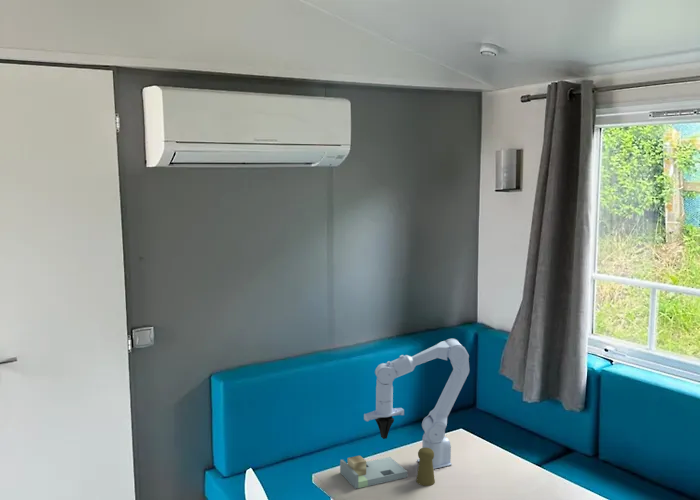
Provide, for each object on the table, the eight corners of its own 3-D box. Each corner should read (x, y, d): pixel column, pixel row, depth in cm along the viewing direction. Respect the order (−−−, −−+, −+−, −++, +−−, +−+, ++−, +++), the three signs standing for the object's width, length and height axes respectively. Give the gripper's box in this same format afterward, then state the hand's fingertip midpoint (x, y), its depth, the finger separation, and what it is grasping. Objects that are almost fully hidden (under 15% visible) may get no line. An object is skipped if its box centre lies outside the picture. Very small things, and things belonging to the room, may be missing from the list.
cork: (434, 486, 198) (434, 454, 197) (415, 484, 199) (415, 452, 198) (435, 478, 204) (436, 446, 203) (417, 476, 205) (417, 444, 204)
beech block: (360, 468, 206) (360, 455, 206) (366, 474, 202) (366, 461, 201) (347, 471, 204) (347, 457, 204) (353, 477, 200) (353, 463, 199)
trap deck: (389, 462, 215) (390, 449, 215) (407, 477, 204) (407, 464, 204) (340, 472, 207) (340, 460, 207) (355, 488, 196) (355, 475, 196)
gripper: (397, 392, 217) (396, 429, 219) (360, 398, 211) (359, 436, 213) (407, 399, 211) (406, 437, 212) (369, 405, 205) (369, 444, 206)
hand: (383, 437), depth 212 cm, fingers closed
